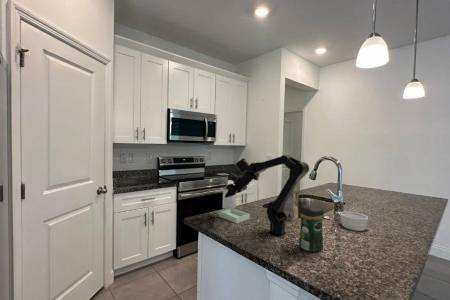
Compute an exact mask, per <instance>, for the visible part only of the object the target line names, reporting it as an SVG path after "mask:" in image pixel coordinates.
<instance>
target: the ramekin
mask: <svg viewBox="0 0 450 300" xmlns="http://www.w3.org/2000/svg"><path fill="white" fill-rule="evenodd" d="M368 221H369V217H368V216H367V215H365V214H363V213H362V214H361V213H359V212H353V211H341V212H340V222H341V223H340V224H341V225H342V226H343V228H346V229H348V230H351V231H354V232H355V231H357V232H363V231H365V230H366V229H367V225H368Z"/></svg>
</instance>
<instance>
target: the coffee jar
mask: <svg viewBox="0 0 450 300" xmlns="http://www.w3.org/2000/svg"><path fill="white" fill-rule="evenodd" d="M324 213H325V212H324V208H323V206H321V205H319V204H310V205H302V206H300V211H299V216H300V231H299V232H300V233H299V240H298V241H299V242H298V246H299V247H300V248H301V249H302V250H303V251H306V252H309V253H315V252H319V251H321V250H323V249H324V239H323V221H324Z"/></svg>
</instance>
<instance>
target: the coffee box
mask: <svg viewBox="0 0 450 300" xmlns="http://www.w3.org/2000/svg"><path fill="white" fill-rule="evenodd" d="M299 197H300V195H299V191H295V190H293V191H292V193H291V194H290V196H289V198H288V199H287V201H286V203H285V208H284V213H285V214H286V215H287V220H286V221H289V220H290V221H291V222H294V221H295V220H296V219H298V218H299Z"/></svg>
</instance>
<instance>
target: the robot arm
mask: <svg viewBox="0 0 450 300" xmlns="http://www.w3.org/2000/svg"><path fill="white" fill-rule="evenodd" d="M280 165H284V166H285V167H286V168H287V169H289V175H288V179H287V180H286V182H285V184H284V185H283V187H282V188H281V191H280V192H279V194H278V195H277V198H276V199H274V200H271V201H269V203H268V205H267V206H266V211H265V212H266V214H267V218H268V221H269V223H270V224H269V231H268V233H269V234H271V235H273V236H276V237H279V238H280V237H283V236H285V235H286V234H287V232H286V222H285V221H288V220H287V215H286V214H285V213H284V208H285V203H286V201H287V199H288V198H289V196H290V194H291V193H292V191H295V190H294V189H295V188H296V187H297V185H298V183H299V182H300V181H301V180H302V179H303V178H304V177H305V176H306V175H308V173H309V171H310V165H309V164H308V163H307V162H304V161H301V160H299V159H297V158H294V157H292V156H290V155H289V154H283V155H281V156H279V157H278V156H277V157H274V158H271V159H268V160H265V161H260V162H259V161H258V162H251V163H250V164H249V163H248V161H247V160H246V159H245V158H242V159H240V160H238V161H236V163H235V167H236V168H237V170H238V171H239V172H240V174H242V175H241V176H239V175H238V174H236V173H234V172H230V173H229V174H228V176H227V179H228V180H230V181H232V182H233V183H228V184H227V185H226V186H225V187H226V188H227V189H228V192H227V193H226V195H225V198H227V197H230V196H233V195H236V196H237V194H239V193H241V192H243V191H245V190H246V189H247V188H248V187H247V186H248V185H249V184H250V183H251V182H252V181H253V180H254V181H259V175H256V174H261V173H263V172H265V171H266V170H268V169H270V168H274V167H277V166H280ZM236 193H237V194H236Z"/></svg>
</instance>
